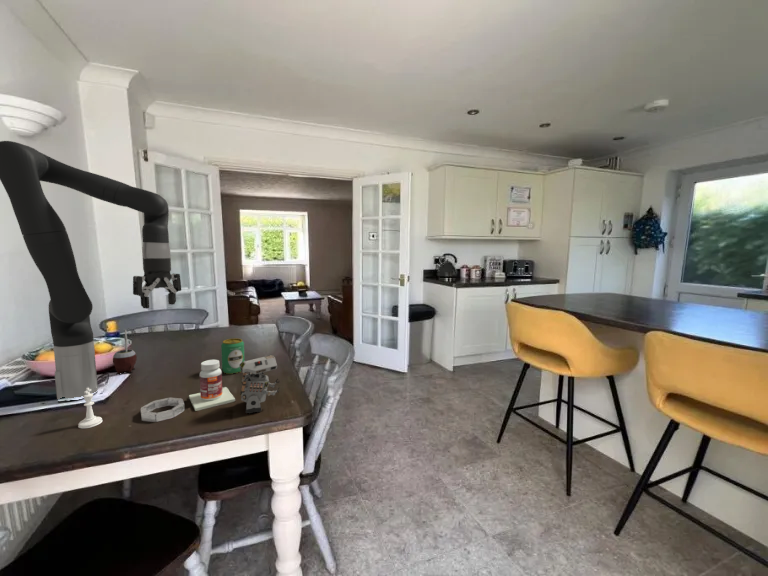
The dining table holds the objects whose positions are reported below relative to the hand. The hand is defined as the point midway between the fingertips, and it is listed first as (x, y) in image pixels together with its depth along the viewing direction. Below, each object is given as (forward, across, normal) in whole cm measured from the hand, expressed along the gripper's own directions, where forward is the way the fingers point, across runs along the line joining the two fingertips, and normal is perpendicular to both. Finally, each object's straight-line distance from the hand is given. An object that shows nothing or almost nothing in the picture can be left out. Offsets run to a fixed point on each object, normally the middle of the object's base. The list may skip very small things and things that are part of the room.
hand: (159, 306), depth 110 cm
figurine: (+28, -3, +39) cm, 48 cm away
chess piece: (+28, +23, +5) cm, 37 cm away
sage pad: (+28, 0, +22) cm, 36 cm away
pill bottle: (+27, 0, +22) cm, 35 cm away
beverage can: (+28, -22, +9) cm, 37 cm away
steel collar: (+28, +12, +16) cm, 34 cm away
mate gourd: (+28, -4, -27) cm, 39 cm away
